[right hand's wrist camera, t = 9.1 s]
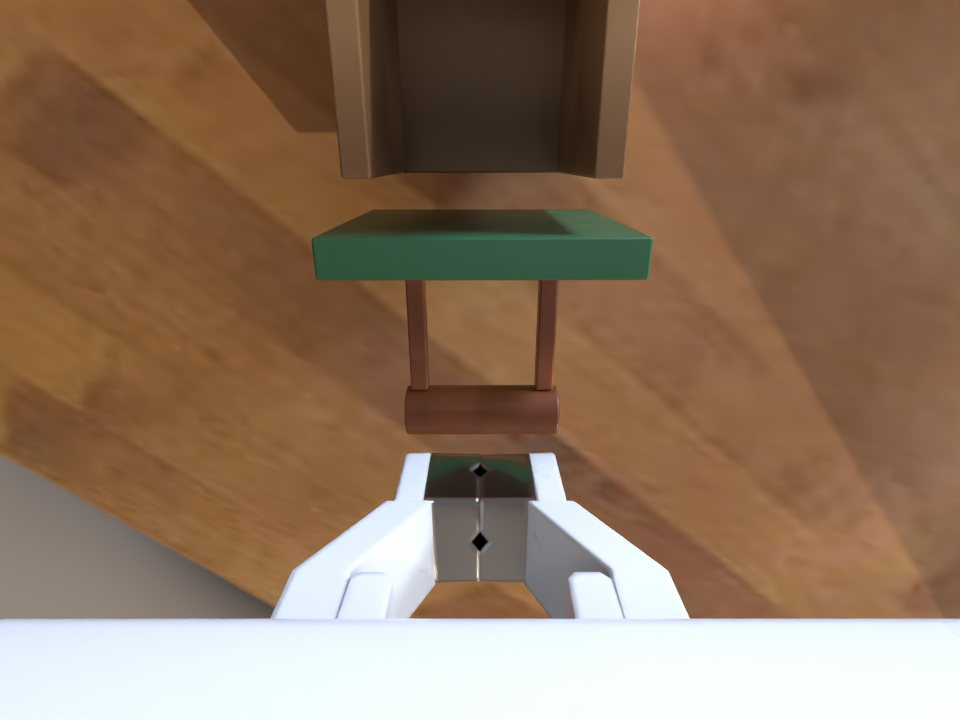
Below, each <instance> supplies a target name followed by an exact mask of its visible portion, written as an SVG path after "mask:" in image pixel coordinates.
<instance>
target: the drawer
mask: <svg viewBox="0 0 960 720" xmlns="http://www.w3.org/2000/svg"><path fill="white" fill-rule="evenodd" d="M325 8H326V19H327V29H328V40H329V51H330V61H331V72H332V83H333V93H334V104H335V114H336V125H337V136H338V146H339V157H340V168H341V176H342V178H344V179H369V178H375V177H381V176H387V175H393V174H399V173H538V172H559V173H565V174H571V175H577V176H584V177H590V178H623V176H624V167H625V157H626V146H627V136H628V125H629V114H630V104H631V93H632V83H633V72H634V62H635V51H636V41H637V30H638V20H639V9H640V0H325ZM652 246H653V238H652V237H650V236H647V235H645V234H643V233H641V232H639V231H636V230H634V229H632V228H630V227H627V226H625V225H623V224H621V223H619V222H616V221H614V220H612V219H610V218H607V217H605V216H603V215H601V214H599V213H596V212H594V211H592V210H371V211H369V212H367V213H365V214H363V215H361V216H359V217H357V218H354V219H352V220H350V221H348V222H346V223H344V224H342V225H339V226H337V227H335V228H333V229H331V230H329V231H327V232H325V233H322V234H320V235H318V236H316V237H314V238H312V248H313V257H314V265H315V274H316V279H317V280H405V282H406V300H407V318H408V337H409V355H410V373H411V385H410V386H408V388H407V391H406V396H405V426H406V431H407V433H408V434H556V433H557V431H558V427H559V396H558V390H557V388H556V386H555V385H553V373H554V355H555V337H556V319H557V301H558V283H559V280H647V279H648V278H649V271H650V263H651V254H652ZM425 280H539V284H538V309H537V333H536V357H535V382H534V383H535V385H429V359H428V335H427V310H426V286H425Z"/></svg>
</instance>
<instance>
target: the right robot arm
mask: <svg viewBox="0 0 960 720" xmlns="http://www.w3.org/2000/svg"><path fill="white" fill-rule="evenodd" d="M461 581H498V582H525V585H526V586H527V588H528V589H529V590H530V591H531V593H532V594H533V595H534V597H535V598H536V599H537V600H538V602H539V603H540V604H541V606H542V607H543V608H544V609H545V611H546V612H547V613H548V615H549V616H550V617H551V618H552V619H409V618H410V616H411V615H412V614H413V612H414V611H415V610H416V609H417V607H418V606H419V605H420V603H421V602H422V601H423V600H424V598H425V597H426V596H427V594H428V593H429V592H430V591H431V589H432V588H433V587H434V585H435V582H461ZM0 720H960V619H690V618H689V616H688V614H687V612H686V609H685V607H684V605H683V603H682V601H681V598H680V596H679V594H678V592H677V589H676V587H675V585H674V583H673V581H672V578H671V576H670V574H669V572H668V570H666V569H665V568H664V567H662V566H661V565H660V564H658V563H657V562H656V561H654V560H653V559H651V558H650V557H649V556H647V555H646V554H645V553H643V552H642V551H641V550H639V549H638V548H637V547H635V546H634V545H633V544H631V543H630V542H628V541H627V540H626V539H624V538H623V537H622V536H620V535H619V534H618V533H616V532H615V531H614V530H612V529H611V528H610V527H608V526H607V525H605V524H604V523H603V522H601V521H600V520H599V519H597V518H596V517H595V516H593V515H592V514H591V513H589V512H588V511H587V510H585V509H584V508H583V507H581V506H580V505H578V504H577V503H576V502H574V501H566V497H565V493H564V489H563V485H562V481H561V477H560V473H559V469H558V465H557V462H556V458H555V455H554V454H553V453H531V454H494V455H480V454H446V453H432V454H431V453H407V454H406V455H405V457H404V461H403V465H402V469H401V473H400V477H399V481H398V485H397V489H396V493H395V497H394V501H386V502H384V503H383V504H382V505H380V506H379V507H377V508H376V509H375V510H373V511H372V512H371V513H369V514H368V515H367V516H365V517H364V518H363V519H361V520H360V521H358V522H357V523H356V524H354V525H353V526H352V527H350V528H349V529H348V530H346V531H345V532H344V533H342V534H341V535H339V536H338V537H337V538H335V539H334V540H333V541H331V542H330V543H329V544H327V545H326V546H324V547H323V548H322V549H320V550H319V551H318V552H316V553H315V554H314V555H312V556H311V557H310V558H308V559H307V560H305V561H304V562H303V563H301V564H300V565H299V566H297V567H296V568H295V569H293V570H292V572H291V575H290V577H289V579H288V581H287V583H286V585H285V588H284V590H283V592H282V594H281V596H280V599H279V601H278V603H277V605H276V607H275V609H274V612H273V614H272V616H271V618H270V619H0Z"/></svg>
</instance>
